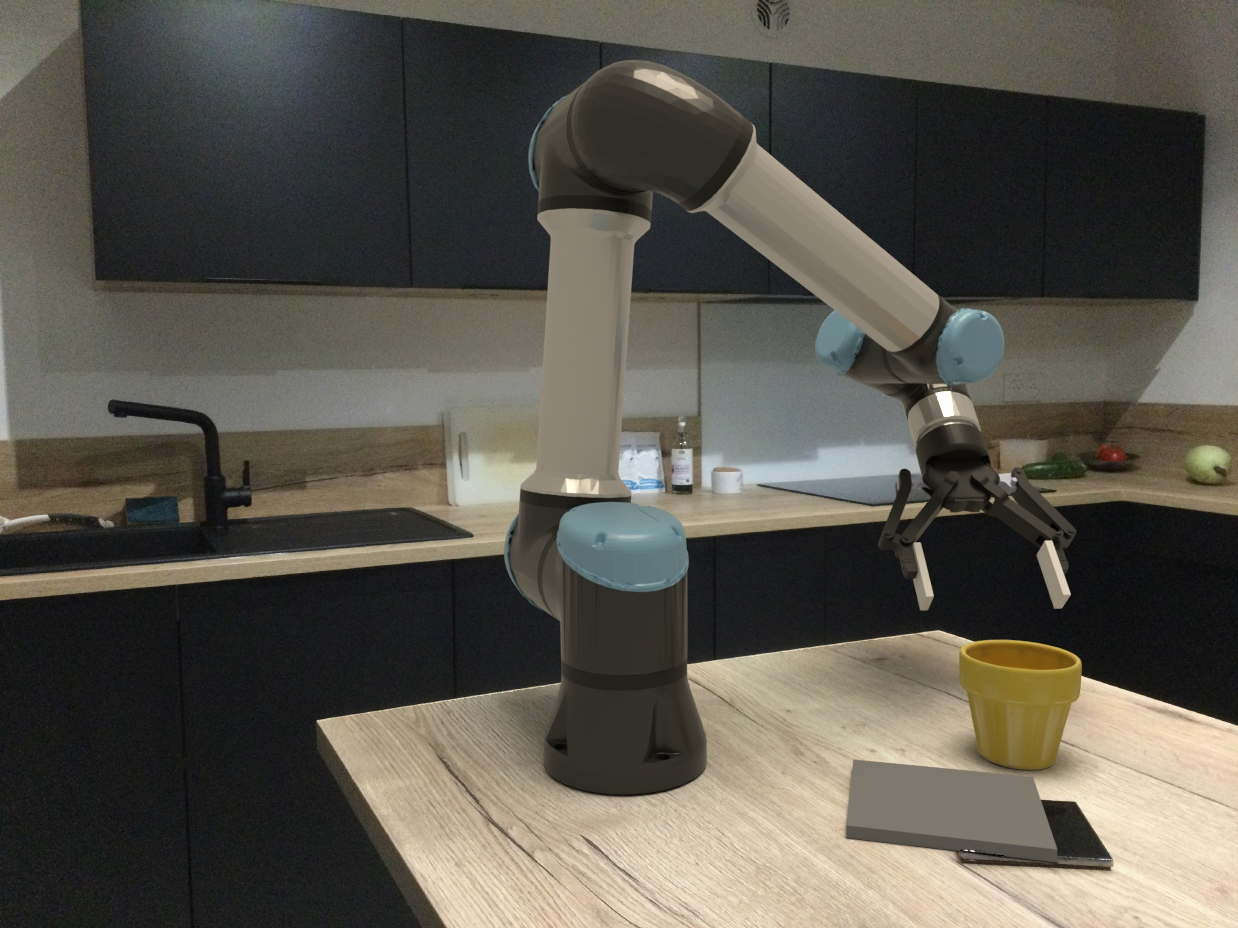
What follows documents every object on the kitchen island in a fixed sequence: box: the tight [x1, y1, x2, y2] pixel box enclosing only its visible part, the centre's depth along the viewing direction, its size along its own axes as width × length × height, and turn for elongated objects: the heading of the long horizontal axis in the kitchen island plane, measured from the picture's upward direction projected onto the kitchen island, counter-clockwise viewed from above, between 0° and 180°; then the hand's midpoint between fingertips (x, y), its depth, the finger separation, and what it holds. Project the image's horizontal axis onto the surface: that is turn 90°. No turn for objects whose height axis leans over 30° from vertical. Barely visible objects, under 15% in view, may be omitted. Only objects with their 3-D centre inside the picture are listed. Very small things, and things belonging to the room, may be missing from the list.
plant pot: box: [958, 639, 1083, 771], centre depth 89 cm, size 10×10×10 cm
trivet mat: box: [845, 758, 1058, 863], centre depth 78 cm, size 15×13×1 cm
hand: (994, 602), depth 97 cm, fingers open, 13 cm apart
